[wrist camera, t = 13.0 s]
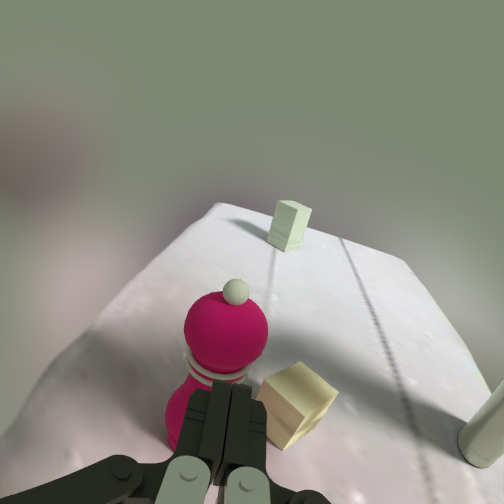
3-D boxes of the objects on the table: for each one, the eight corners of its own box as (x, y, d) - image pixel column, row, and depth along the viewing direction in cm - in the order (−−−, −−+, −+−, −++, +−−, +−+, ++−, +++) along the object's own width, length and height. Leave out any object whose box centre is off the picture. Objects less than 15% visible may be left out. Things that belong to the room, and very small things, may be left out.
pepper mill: (156, 417, 29) (172, 253, 21) (216, 409, 32) (262, 256, 25) (174, 473, 23) (203, 318, 15) (241, 459, 27) (313, 309, 19)
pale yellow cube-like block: (279, 395, 37) (297, 358, 34) (314, 427, 33) (338, 392, 30) (244, 414, 33) (260, 376, 30) (281, 451, 29) (305, 416, 26)
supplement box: (299, 250, 89) (313, 209, 85) (284, 252, 84) (297, 209, 79) (281, 239, 94) (293, 200, 89) (265, 241, 89) (277, 199, 84)
